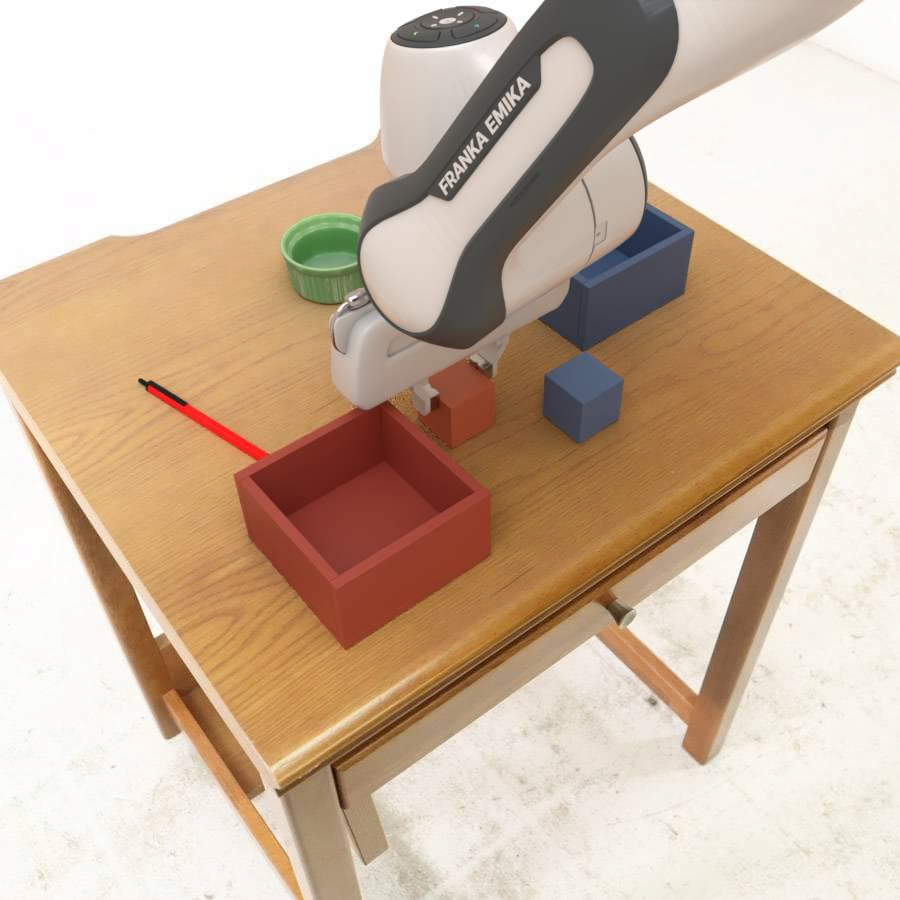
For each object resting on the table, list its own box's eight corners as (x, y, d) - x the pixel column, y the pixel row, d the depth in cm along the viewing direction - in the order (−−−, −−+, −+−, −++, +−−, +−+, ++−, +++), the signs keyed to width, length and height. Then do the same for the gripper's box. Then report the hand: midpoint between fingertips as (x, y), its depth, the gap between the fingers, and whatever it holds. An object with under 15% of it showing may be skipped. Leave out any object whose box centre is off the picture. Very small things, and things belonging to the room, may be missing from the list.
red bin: (490, 555, 76) (491, 492, 71) (345, 650, 71) (335, 589, 66) (387, 457, 83) (381, 394, 78) (248, 536, 78) (232, 474, 73)
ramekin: (277, 262, 101) (270, 222, 98) (368, 243, 103) (365, 204, 100) (297, 318, 95) (291, 278, 92) (394, 297, 97) (391, 257, 94)
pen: (145, 381, 90) (142, 371, 89) (307, 482, 82) (305, 472, 81) (136, 386, 90) (133, 376, 89) (299, 489, 81) (297, 479, 81)
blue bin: (684, 293, 97) (695, 230, 92) (583, 351, 91) (588, 288, 86) (588, 232, 104) (593, 170, 99) (489, 282, 98) (489, 220, 93)
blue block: (619, 419, 86) (624, 379, 82) (579, 444, 84) (582, 404, 80) (581, 390, 88) (585, 350, 85) (541, 414, 86) (544, 374, 83)
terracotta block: (494, 424, 85) (495, 383, 82) (452, 449, 84) (450, 408, 80) (460, 395, 88) (459, 354, 85) (418, 419, 86) (415, 378, 83)
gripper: (355, 329, 67) (371, 476, 77) (589, 212, 76) (576, 357, 86) (301, 282, 71) (323, 429, 81) (531, 175, 79) (525, 319, 89)
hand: (455, 391), depth 84 cm, fingers closed on terracotta block, 4 cm apart
